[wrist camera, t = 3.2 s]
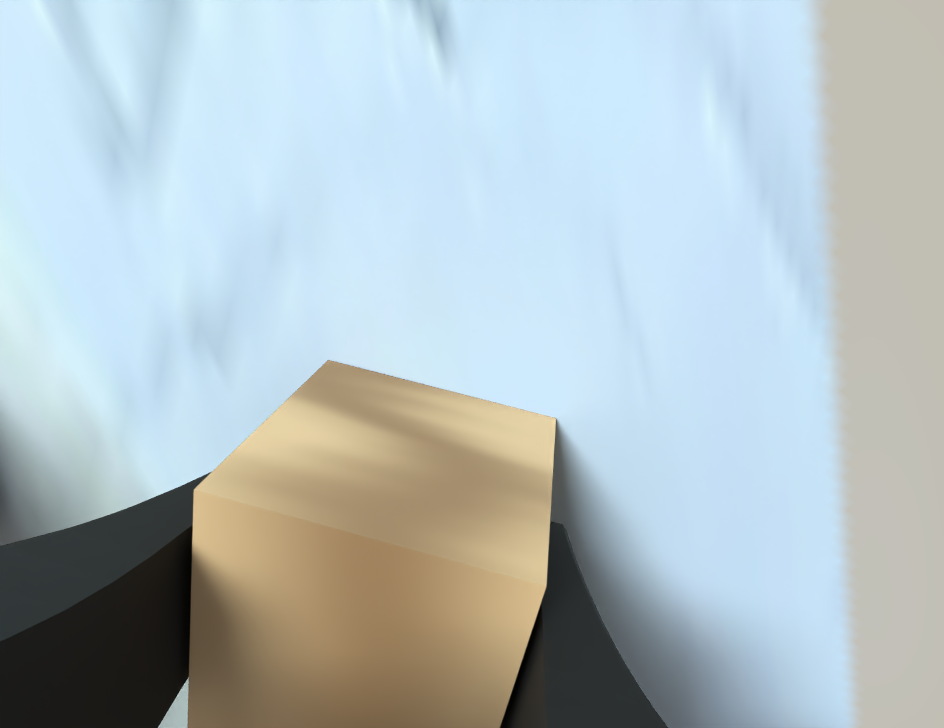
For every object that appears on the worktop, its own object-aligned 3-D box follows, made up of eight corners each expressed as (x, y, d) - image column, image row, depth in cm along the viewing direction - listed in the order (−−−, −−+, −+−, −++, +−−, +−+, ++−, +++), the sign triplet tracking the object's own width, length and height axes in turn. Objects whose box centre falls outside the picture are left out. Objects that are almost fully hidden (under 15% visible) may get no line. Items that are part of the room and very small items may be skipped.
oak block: (306, 542, 15) (187, 729, 10) (328, 360, 13) (193, 489, 8) (503, 597, 15) (471, 814, 10) (555, 418, 13) (546, 586, 8)
